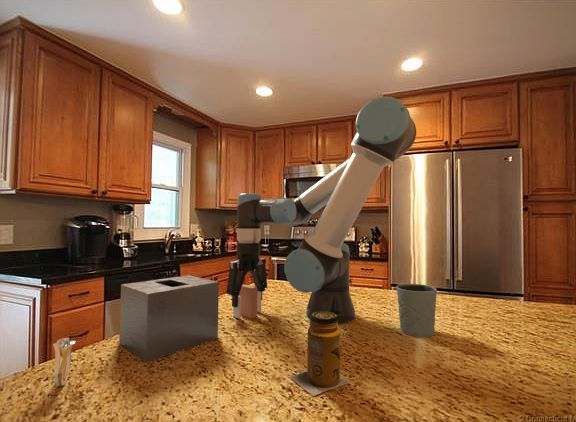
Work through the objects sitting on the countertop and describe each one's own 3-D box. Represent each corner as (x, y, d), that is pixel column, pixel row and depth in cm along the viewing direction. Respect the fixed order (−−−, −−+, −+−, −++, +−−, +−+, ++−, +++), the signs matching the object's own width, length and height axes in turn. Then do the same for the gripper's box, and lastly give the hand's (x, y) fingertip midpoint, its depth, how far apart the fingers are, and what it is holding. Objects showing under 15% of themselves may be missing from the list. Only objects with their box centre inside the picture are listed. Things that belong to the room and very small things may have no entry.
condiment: (349, 383, 56) (350, 316, 56) (313, 397, 51) (313, 324, 51) (324, 367, 62) (324, 307, 62) (289, 378, 57) (290, 313, 57)
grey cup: (442, 331, 83) (441, 287, 83) (429, 341, 75) (429, 293, 76) (405, 323, 90) (405, 282, 90) (390, 331, 82) (390, 287, 83)
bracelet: (58, 377, 56) (59, 333, 57) (78, 374, 58) (80, 331, 58) (44, 397, 50) (46, 347, 50) (67, 393, 51) (69, 345, 52)
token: (256, 316, 95) (257, 287, 95) (251, 317, 93) (251, 288, 93) (244, 312, 99) (244, 284, 99) (238, 313, 97) (238, 285, 97)
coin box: (217, 337, 76) (218, 281, 77) (145, 362, 63) (147, 293, 63) (187, 325, 86) (188, 275, 86) (119, 344, 72) (121, 284, 72)
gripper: (263, 240, 107) (262, 305, 106) (214, 242, 91) (212, 319, 91) (279, 241, 102) (278, 309, 101) (230, 244, 87) (228, 324, 86)
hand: (247, 314), depth 96 cm, fingers open, 8 cm apart
